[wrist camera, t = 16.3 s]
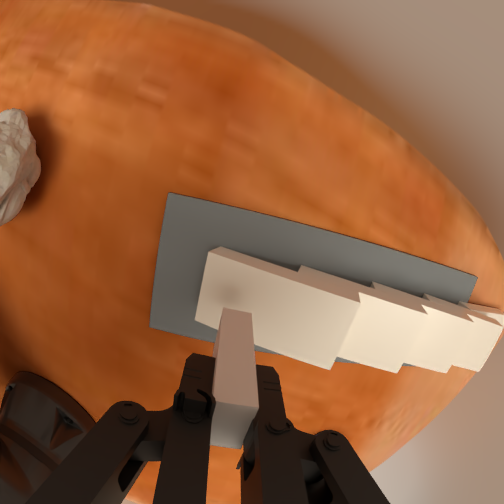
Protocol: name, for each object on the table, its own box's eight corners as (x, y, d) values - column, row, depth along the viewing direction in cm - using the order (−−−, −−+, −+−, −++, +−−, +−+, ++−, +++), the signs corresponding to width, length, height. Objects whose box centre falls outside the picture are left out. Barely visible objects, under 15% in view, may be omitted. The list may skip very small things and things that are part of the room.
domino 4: (447, 354, 22) (489, 352, 23) (470, 309, 20) (508, 315, 22) (437, 344, 24) (480, 344, 25) (459, 301, 22) (498, 308, 24)
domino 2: (276, 336, 20) (397, 373, 18) (297, 272, 19) (428, 314, 16) (281, 325, 22) (393, 359, 20) (301, 264, 20) (421, 304, 18)
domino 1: (194, 320, 19) (329, 370, 17) (208, 251, 18) (360, 303, 16) (206, 309, 21) (331, 355, 19) (220, 246, 20) (358, 292, 18)
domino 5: (404, 351, 21) (479, 371, 19) (430, 300, 20) (503, 327, 18) (401, 341, 23) (473, 362, 21) (424, 293, 22) (495, 319, 19)
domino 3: (349, 347, 21) (446, 373, 18) (375, 289, 19) (474, 322, 17) (349, 335, 22) (440, 361, 20) (372, 281, 21) (466, 313, 19)
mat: (150, 324, 22) (149, 327, 22) (169, 192, 19) (168, 192, 19) (433, 364, 25) (434, 366, 25) (475, 276, 22) (477, 277, 22)
